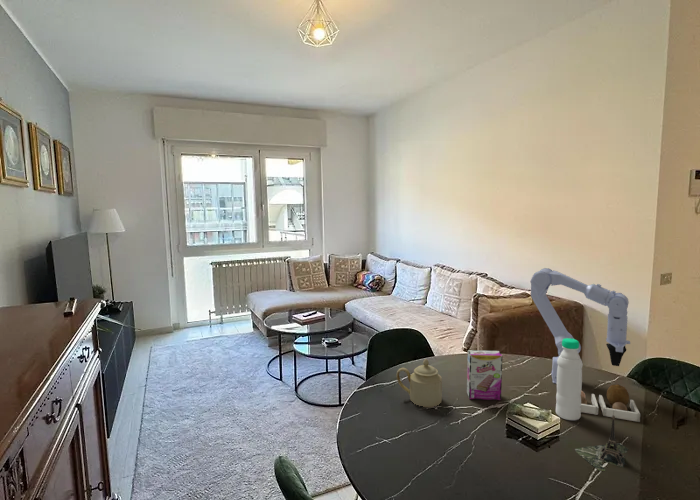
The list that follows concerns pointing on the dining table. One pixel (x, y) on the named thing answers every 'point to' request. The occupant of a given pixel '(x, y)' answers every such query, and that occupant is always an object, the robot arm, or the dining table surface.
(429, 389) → the sugar bowl
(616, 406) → the walnut ball
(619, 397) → the fruit
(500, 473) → the dining table surface
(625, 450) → the eiffel tower figurine
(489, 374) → the candy bar box
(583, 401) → the walnut ball
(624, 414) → the trough right
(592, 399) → the trough left
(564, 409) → the water bottle
